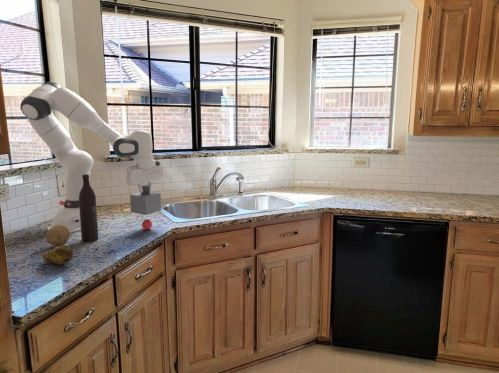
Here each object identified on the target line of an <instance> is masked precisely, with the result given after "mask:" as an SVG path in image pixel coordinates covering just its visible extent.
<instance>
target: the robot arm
mask: <svg viewBox="0 0 499 373" xmlns="http://www.w3.org/2000/svg"><path fill="white" fill-rule="evenodd" d="M19 107H20V110H21V112H22V114H23V116H24V117H26V118H27V120H28V122H29V124H30V125H31V127H32V128H33V130H34V131H35V133H36V134H37V135H38V136H39V138H41V140H42V141H43V143H45V144H46V146H47V147H48V148H49V149H50V151H51V152H52V154H53V155H54V157H55V158H56V160H57V162H58V163H59V164H60V166H61V167H62V168H63V169H65V170H67V177H66V182H65V184H64V186H65V187H64V188H65V196H66V198H65V201H63V200H60V201H59V202H58V204H59V205H60V206H63V208H61V209H60V210H59V211H58V212H57V213H56V214H55V215H54V216H53V218H52V221H51V226H48V227H47V229H46V230H47V231H48V230H49V229H50V228H51V227H53V226H55V225H63V226H65V227H66V228H67V229H68V230H69V233H74V232H81V223H80V209H79V193H80V191H81V189H82V186H83V178H82V176H83V175H84V174H89V182H90V178H91V173H92V172H91V171H92V168H93V167H94V163H95V162H94V159H93V157H92V155H91V154H90V153H88V152H87V151H85V150H80V149H79V148H78V147H77V146H76V145H75V143H74V141H73V140H72V138H71V137H72V136H71V134H70V133H69V132H68V131H67V129H66V128H65V127H64V126H63V124H62V123H61V122H60V121H59V120H58V118H57V117H56V116H55V115H54V112H58V113H60V114H61V115H63V116H64V117H65V118H66V119H68V120H69V121H70V122H72V123H74V124H75V126H76V125H77V126H78V127H81V128H82V129H83V128H84V129H86V130H90V131H92V132H94V133H96V134H97V135H99V136H100V137H102V139H104V140H105V141H106V142H108V143H109V144H110V145H111V147H112V151H113V153H114V154H115V155H116V156H118V158H119V157H120V158H122V159H126V158H128V157H129V158H130V157H132V156H133V162H134V164H132V165H129V166H128V167H127V168H126V176H125V177H126V178H125V181H126V182H125V183H126V184H127V186H137V188H138V193H139V192H140V193H142V192H144V189H143V188H142V186H143V184H146V183H147V185H148V186H150V192H152V188H151V187H152V185H153V182H156V181H161V180H162V178H163V175H162V174H163V171H162V162H161V161H159V160H155V159H154V155H153V148H154V146H153V139H152V134H151V133H150V132H149V131H148V130H143V129H134V130H133V131H132V132H130V133H128V134H125V135H124V134H120V133H119V132H117V131H116V130H115V129H114V128H112V127H111V126H110V125H108V124H107V122H105V121H104V120H103V119H102V118H101V116H99V113H98V112H97V111H96V110H95V109H94V107H92V106H91V105H90V103H89V102H87V101H86V100H85V99H84V98H82V96H80V95H79V94H77V93H76V92H74V91H72V90H70V89H68V88H66V87H63V86H62V87H61V86H60V85H59V84H58V83H56V82H53V81H47V82H44V83H42V84H41V85H39V86H38V87H36V88H35V89H33V90H32V91H31V92H30V93H29V94H28V95H27V96H25V97H24V98H23V99H22V100H21V101H20V106H19ZM47 231H46V232H47Z"/></svg>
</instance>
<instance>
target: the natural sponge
mask: <svg viewBox="0 0 499 373" xmlns="http://www.w3.org/2000/svg"><path fill="white" fill-rule="evenodd" d="M50 227H51V226H50ZM70 235H71V234H70V233H69V230H68V229H67V228H66V227H65V226H63V225H55V226H53V227H51V228H50V229H49V230H48V231H46V235H45V240H46V242H47V243H48V244H49V245H51V246H54V247H58V246H66V243H67V242H68V240H69V238H70Z"/></svg>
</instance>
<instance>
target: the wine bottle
mask: <svg viewBox="0 0 499 373" xmlns="http://www.w3.org/2000/svg"><path fill="white" fill-rule="evenodd" d="M82 178H83V186H82V189H81V191H80V193H79V209H80V223H81V230H80V234H81V241H82V242H84V243H85V242H86V243H89V242H90V243H91V242H95V241H97V240H98V239H99V226H98V210H97V198H96V193H95V191H94V190H93V188H92V186H91V185H90V181H89V174H84V175H83V176H82Z"/></svg>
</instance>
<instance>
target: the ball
mask: <svg viewBox="0 0 499 373" xmlns="http://www.w3.org/2000/svg"><path fill="white" fill-rule="evenodd" d="M141 226H142V227H141V228H142V229H143V230H146V231H147V230H150V229H151V228H152V227H153V222H152V220H150V219H144V220H143V221H142V222H141Z"/></svg>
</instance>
